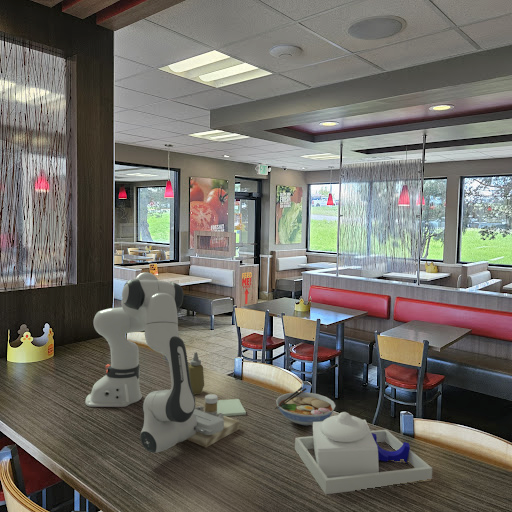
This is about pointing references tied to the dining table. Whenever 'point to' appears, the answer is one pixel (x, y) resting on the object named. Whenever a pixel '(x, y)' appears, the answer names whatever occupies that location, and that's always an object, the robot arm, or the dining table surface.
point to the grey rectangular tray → (364, 480)
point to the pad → (230, 407)
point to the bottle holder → (207, 440)
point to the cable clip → (393, 452)
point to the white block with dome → (345, 446)
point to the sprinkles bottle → (211, 404)
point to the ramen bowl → (305, 407)
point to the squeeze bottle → (196, 374)
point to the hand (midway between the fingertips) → (212, 411)
